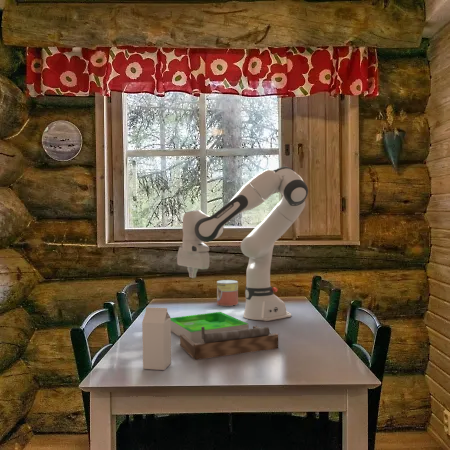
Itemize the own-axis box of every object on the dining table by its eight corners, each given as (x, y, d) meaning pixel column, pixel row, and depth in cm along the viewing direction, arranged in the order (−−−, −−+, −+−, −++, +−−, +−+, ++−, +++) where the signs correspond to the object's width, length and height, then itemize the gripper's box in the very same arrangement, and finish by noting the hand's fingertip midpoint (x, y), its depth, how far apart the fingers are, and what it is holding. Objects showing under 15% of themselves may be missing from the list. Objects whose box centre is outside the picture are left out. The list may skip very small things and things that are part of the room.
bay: (256, 335, 183) (256, 309, 183) (279, 348, 166) (278, 319, 166) (180, 345, 171) (179, 317, 171) (195, 360, 154) (195, 329, 154)
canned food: (213, 303, 248) (213, 280, 248) (232, 301, 253) (232, 279, 253) (222, 307, 238) (222, 283, 238) (241, 305, 243) (241, 282, 242)
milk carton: (164, 370, 144) (163, 310, 144) (142, 369, 146) (141, 309, 145) (171, 363, 151) (170, 305, 151) (150, 362, 153) (150, 305, 152)
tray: (191, 345, 173) (191, 332, 173) (167, 330, 195) (167, 318, 195) (248, 336, 185) (248, 323, 185) (220, 322, 207) (220, 311, 207)
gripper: (173, 245, 212) (173, 275, 212) (200, 248, 196) (200, 280, 196) (185, 244, 216) (185, 274, 216) (211, 247, 200) (212, 279, 200)
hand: (192, 277), depth 206 cm, fingers closed
